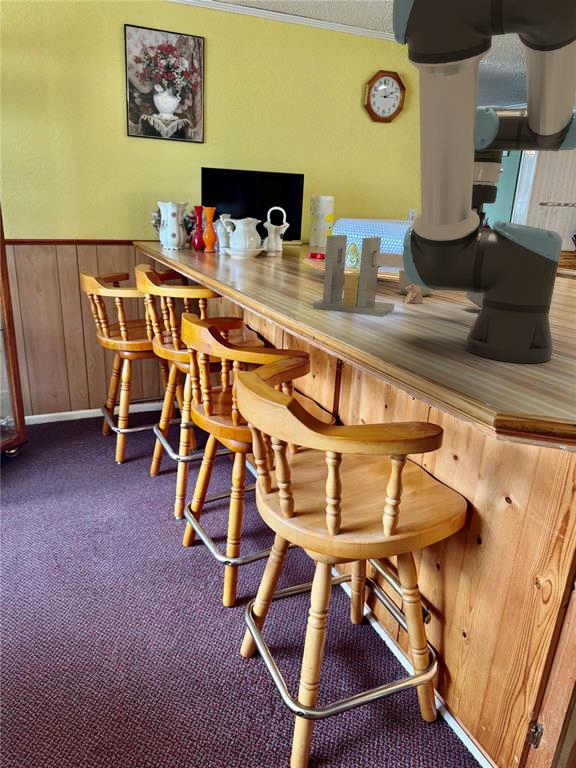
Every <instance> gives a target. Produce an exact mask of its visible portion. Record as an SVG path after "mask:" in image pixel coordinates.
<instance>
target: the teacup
mask: <svg viewBox="0 0 576 768" xmlns="http://www.w3.org/2000/svg"><path fill="white" fill-rule="evenodd" d="M398 271H399V274H398V275H399V277H398V283H399V284H398V286H399V287H398V288H399V290H400V292H402V293H403V294H404V295H405V296H407V295H408V293H409V291H407V290H406V287H408V286H410V285H413V284H412V283H411V282H410V281H409V280H408V278H407V276H406V274H405V270H404V268H399V270H398ZM419 288H420V289H421V292H422V297H425V296H426V297H427V296H428V294H430V293H431V292H433V290H434V289H430V288H427V287H421V286H419Z"/></svg>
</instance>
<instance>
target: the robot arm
mask: <svg viewBox="0 0 576 768" xmlns="http://www.w3.org/2000/svg"><path fill="white" fill-rule="evenodd" d="M391 17H392V18H391V19H392V31H393V33H394V35H393V36H394V39H395V41H396V42H397V43H398V44H401V45H402V46H406V45H407V58H408V61H409V63H410V64H411V65H413V66H414V67H415V69H417V70H418V83H419V84H418V90H419V91H418V93H419V98H418V99H419V150H420V152H419V153H420V155H419V156H420V157H419V158H420V207H421V208H420V209H421V210H420V213H419V214H418V215H417V216H416V217H415V218H414V219H413V222H412V225H410V226H409V227H408V228H407V230H406V232H405V234H404V238H403V251H402V254H403V265H404V268H403V269H404V270H405V274H406V276H407V278H408V280H409V281H410V282H411V283H412V284H414V285H416V286H421V287H427V288H430V289H433V290H435V289H438V290H448V291H455V292H456V291H457V292H465V293H466V292H474V293H482V294H483V301H482V307H481V308H480V310H479V312H478V315H477V316H476V318H475V320H474V322H473V324H472V327H470V330H469V332H468V334H467V337H466V340H465V341H466V342H465V349H466V351H468V352H469V353H471V354H473V355H476V356H480V357H482V358H486V359H490V360H496V361H502V362H510V363H517V364H540V363H546V362H549V361H550V360H551V358H552V354H553V349H554V347H553V339H552V333H551V332H552V331H551V325H550V318H549V317H550V311H551V304H552V301H553V300H552V299H553V294H554V289H555V283H556V279H557V274H558V273H557V272H558V268H559V263H561V262H562V258H561V253H562V247H563V246H562V245H563V239H562V236H561V235H560V234H559V233H558V232H556V231H554V230H550V229H545V228H539V227H536V226H535V227H534V226H529V225H525V224H517V223H514V222H513V223H512V222H507V221H502V220H501V221H500V220H496V221H495V223H494V224H493V225H492V228H484V227H483V226H484V221H485V219H486V212H485V211H484V204H492V205H493V204H495V203H496V202H497V201H496V200H497V194H498V186H497V185H496V184H498V183H499V180H500V175H499V174H503V173H504V169H503V168H501V167H502V163H503V156H504V152H506V151H508V152H510V151H511V152H512V151H515V152H516V151H525V152H528V151H529V152H530V151H531V152H537V151H539V152H555V153H556V152H559V151H573V150H575V149H576V106H575V105H574V104H575V99H576V0H393V2H392V16H391ZM506 34H508V35H509V34H510V35H511V34H513V35H515V34H516V35H517V36H518V39H519V40H520V42H521V44H522V45H523V46H524V51H525V52H524V53H525V80H526V82H525V83H526V85H525V86H526V87H525V88H526V107H522V108H507V106H503V105H479V106H478V92H479V91H478V90H479V77H480V76H479V72H480V62H481V61H482V60H483V58H485V57H486V55H487V54H488V53H489V52H490V51H491V49H492V42H493V41H492V39H493V37H494V36H504V35H506Z"/></svg>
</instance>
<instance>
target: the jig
mask: <svg viewBox="0 0 576 768" xmlns="http://www.w3.org/2000/svg"><path fill="white" fill-rule="evenodd" d="M347 240H348V235H347V234H332V235H326V244H325V245H326V247H325V260H324V261H325V262H324V277H323V278H324V280H323V293H322V298H321V299H319V300H317V301H314V302H313V309H315V310H324V311H331V312H338V313H339V312H341V313H349V314H356V315H357V314H358V315H366V316H372V317H373V316H374V317H381V318H384V317H386V315H388V314H389V313H391V312H392V311H394V309H395V303H389V302H383V301H382V302H381V301H376V295H377V294H376V293H377V284H378V274H379V266H373V265H372V257H373V253H375V252H379V253H381V241H382V237H379V236H369V237H362V243H361V254H360V266H359V273H360V276H359V287H358V299H357V306H353V305H344V304H343V295H344V283H345V267H346V257H347V256H346V254H347V243H348V242H347Z"/></svg>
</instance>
